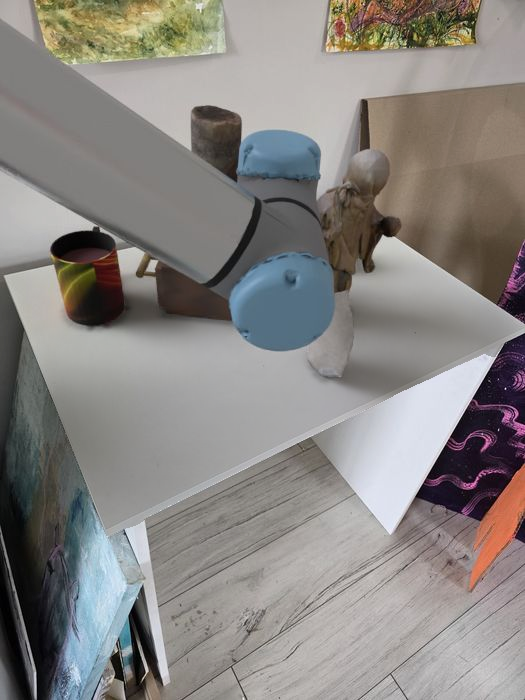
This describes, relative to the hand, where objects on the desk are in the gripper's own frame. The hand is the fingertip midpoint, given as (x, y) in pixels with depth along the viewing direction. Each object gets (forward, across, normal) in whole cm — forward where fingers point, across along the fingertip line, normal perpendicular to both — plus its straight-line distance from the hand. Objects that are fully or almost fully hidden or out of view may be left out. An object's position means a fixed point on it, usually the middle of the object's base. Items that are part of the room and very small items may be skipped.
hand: (209, 162), depth 76 cm
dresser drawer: (-4, -4, -21) cm, 22 cm away
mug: (-2, -21, -22) cm, 31 cm away
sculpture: (-14, +18, -23) cm, 32 cm away
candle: (-5, 0, -11) cm, 12 cm away
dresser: (-5, 0, -22) cm, 23 cm away
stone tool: (-26, +12, -23) cm, 37 cm away
